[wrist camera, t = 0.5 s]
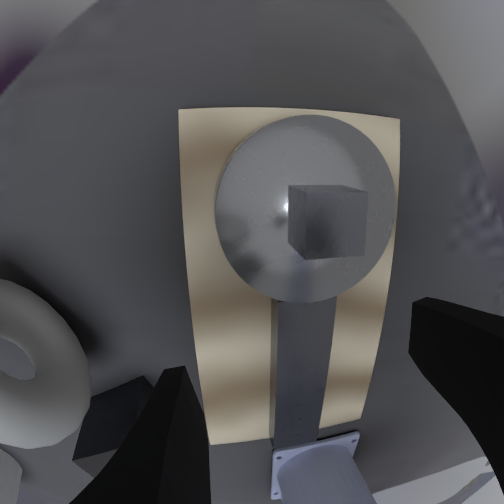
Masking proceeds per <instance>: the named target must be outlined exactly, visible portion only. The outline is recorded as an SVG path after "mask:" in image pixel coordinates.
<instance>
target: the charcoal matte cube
mask: <svg viewBox="0 0 504 504" xmlns="http://www.w3.org/2000/svg"><path fill="white" fill-rule="evenodd" d="M153 389H154V388H153V387H152V385H151V384H150V383H149V382H148V381H147V380H146V379H145V377H144V376H142V377H139V378H137V379H135V380H132V381H130V382H128V383H125V384H123V385H121V386H118V387H116V388H114V389H111V390H109V391H106V392H104V393H101V394H99V395H97V396H94V397H92V398H91V399H90V407H89V409H88V411H87V413H86V415H85V416H84V419H83V423H82V426H81V430H80V433H79V437H78V440H77V444H76V447H75V451H74V455H73V459H72V461H73V462H74V463H76V464H77V465H78V466H79V467H81V468H82V469H83V470H85V471H86V472H87V473H89V474H90V475H91V476H93V477H94V478H95V477H96V476H97V475H98V474H99V473H100V471H101V470H102V469H103V468H104V466H105V465H106V464H107V463H108V461H109V460H110V459H111V457H112V456H113V455H114V453H115V452H116V451H117V449H118V448H119V446H120V445H121V443H122V442H123V440H124V439H125V437H126V436H127V434H128V433H129V431H130V430H131V428H132V426H133V425H134V423H135V422H136V420H137V418H138V416H139V415H140V413H141V411H142V409H143V408H144V406H145V404H146V402H147V400H148V399H149V397H150V395H151V393H152V391H153Z"/></svg>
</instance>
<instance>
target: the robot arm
mask: <svg viewBox="0 0 504 504" xmlns="http://www.w3.org/2000/svg"><path fill="white" fill-rule="evenodd" d="M408 353H409V354H410V356H411V358H412V359H413V361H414V362H415V364H416V365H417V367H418V368H419V370H420V371H421V373H422V374H423V375H424V376H425V378H426V379H427V380H428V381H429V382H430V383H431V384H432V386H433V387H434V388H435V389H436V390H437V391H438V392H439V393H440V394H441V396H442V397H443V398H444V399H445V400H446V401H447V402H448V403H449V404H450V406H451V407H452V408H453V409H454V410H455V411H456V412H457V413H458V415H459V416H460V417H461V418H462V419H463V421H464V422H465V423H466V425H467V426H468V427H469V429H470V431H471V432H472V434H473V435H474V437H475V438H476V440H477V441H478V443H479V445H480V446H481V448H482V450H483V452H484V453H485V455H486V457H487V459H488V460H489V462H490V464H491V466H492V468H493V471H494V473H495V475H496V477H497V479H498V481H499V484H500V486H501V489H502V492H503V494H504V317H503V316H498V315H494V314H490V313H487V312H483V311H479V310H476V309H472V308H469V307H465V306H462V305H458V304H455V303H451V302H447V301H443V300H439V299H435V298H429V297H426V298H423V299H420V300H418V301H415V302H413V303H412V318H411V331H410V341H409V351H408ZM359 437H360V434H359V432H357V431H356V432H351V433H348V434H344V435H340V436H336V437H332V438H328V439H324V440H319V441H315V442H311V443H306V444H301V445H296V446H291V447H285V448H280V449H276V450H274V451H273V456H272V476H271V494H270V496H271V499H273V500H275V499H281V500H282V503H283V504H377V503H376V501H375V500H374V498H373V496H372V494H371V492H370V490H369V488H368V486H367V484H366V482H365V481H364V479H363V477H362V475H361V473H360V471H359V469H358V467H357V465H356V463H355V461H354V460H353V455H354V452H355V449H356V446H357V443H358V440H359ZM69 504H211V491H210V470H209V446H208V437H207V431H206V424H205V418H204V413H203V411H202V408H201V406H200V403H199V401H198V398H197V396H196V393H195V391H194V388H193V386H192V383H191V381H190V378H189V375H188V373H187V370H186V367H185V366H180V367H175V368H169V369H164V371H163V372H162V374H161V376H160V378H159V380H158V382H157V384H156V385H155V387H154V389H153V391H152V393H151V395H150V397H149V399H148V400H147V402H146V404H145V406H144V408H143V409H142V411H141V413H140V415H139V416H138V418H137V420H136V422H135V423H134V425H133V426H132V428H131V430H130V431H129V433H128V434H127V436H126V437H125V439H124V440H123V442H122V443H121V445H120V446H119V448H118V449H117V451H116V452H115V453H114V455H113V456H112V457H111V459H110V460H109V461H108V463H107V464H106V465H105V466H104V468H103V469H102V470H101V471H100V473H99V474H98V475H97V476H96V477H95V478H94V479H93V480H92V481H91V482H90V483H89V484H88V485H87V486H86V487H85V489H84V490H83V491H82V492H81V493H80V494H79V495H78V496H77V497H76V498H75V499H74V500H73V501H71V502H70V503H69Z"/></svg>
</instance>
